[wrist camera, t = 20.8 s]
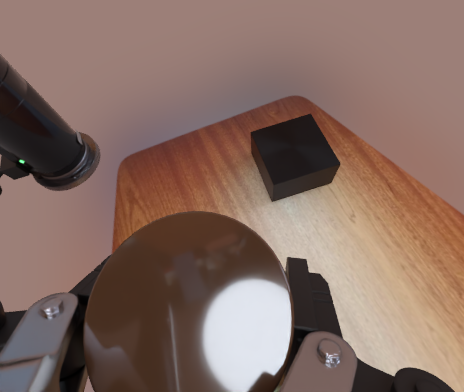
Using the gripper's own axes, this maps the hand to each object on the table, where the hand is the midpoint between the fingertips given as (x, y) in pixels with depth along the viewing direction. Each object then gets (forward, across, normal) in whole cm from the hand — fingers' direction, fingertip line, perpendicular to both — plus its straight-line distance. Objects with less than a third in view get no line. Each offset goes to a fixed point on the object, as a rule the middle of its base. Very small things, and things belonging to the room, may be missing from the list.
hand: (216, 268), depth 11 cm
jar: (+2, 0, +5) cm, 5 cm away
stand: (+31, -4, +2) cm, 31 cm away
